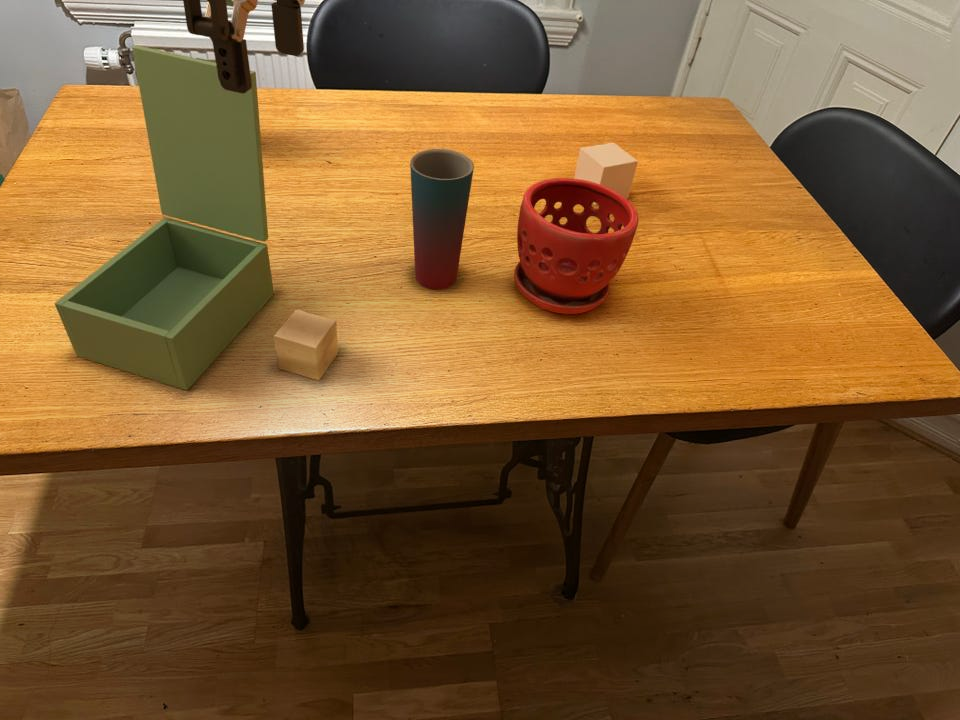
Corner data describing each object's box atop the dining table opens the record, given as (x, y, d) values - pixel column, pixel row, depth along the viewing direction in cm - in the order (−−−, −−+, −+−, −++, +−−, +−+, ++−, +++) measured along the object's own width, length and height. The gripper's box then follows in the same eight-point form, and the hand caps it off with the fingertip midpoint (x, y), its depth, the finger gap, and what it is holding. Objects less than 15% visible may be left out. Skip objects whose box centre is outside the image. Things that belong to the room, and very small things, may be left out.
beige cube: (604, 179, 107) (613, 142, 102) (628, 198, 103) (638, 160, 99) (572, 185, 104) (580, 147, 100) (594, 205, 100) (604, 167, 96)
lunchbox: (187, 390, 68) (172, 338, 63) (76, 356, 70) (53, 303, 65) (274, 294, 79) (267, 244, 75) (177, 267, 81) (164, 216, 77)
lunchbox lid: (251, 73, 64) (279, 61, 67) (131, 46, 66) (165, 36, 69) (264, 242, 74) (288, 223, 78) (161, 214, 76) (189, 197, 80)
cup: (415, 297, 81) (419, 182, 71) (401, 264, 86) (403, 151, 76) (470, 290, 83) (482, 177, 73) (454, 257, 88) (463, 146, 78)
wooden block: (318, 380, 70) (315, 348, 67) (278, 368, 71) (273, 335, 68) (338, 352, 73) (336, 320, 70) (300, 341, 74) (296, 308, 71)
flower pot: (588, 339, 79) (611, 251, 70) (489, 295, 83) (500, 207, 75) (632, 284, 87) (657, 199, 79) (540, 246, 91) (555, 162, 83)
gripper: (239, -204, 50) (265, 35, 61) (108, -191, 39) (168, 94, 50) (337, -189, 48) (346, 51, 59) (228, -171, 38) (263, 115, 49)
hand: (264, 70), depth 55 cm, fingers open, 8 cm apart
